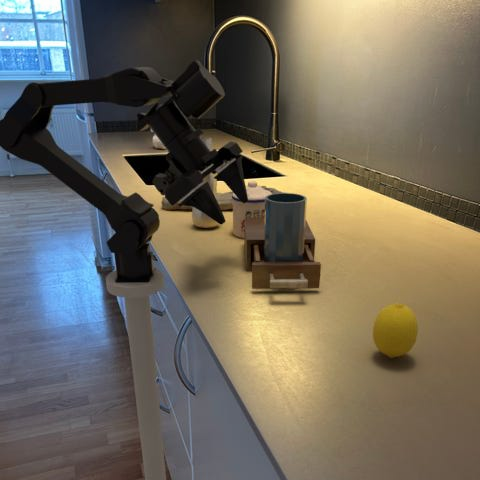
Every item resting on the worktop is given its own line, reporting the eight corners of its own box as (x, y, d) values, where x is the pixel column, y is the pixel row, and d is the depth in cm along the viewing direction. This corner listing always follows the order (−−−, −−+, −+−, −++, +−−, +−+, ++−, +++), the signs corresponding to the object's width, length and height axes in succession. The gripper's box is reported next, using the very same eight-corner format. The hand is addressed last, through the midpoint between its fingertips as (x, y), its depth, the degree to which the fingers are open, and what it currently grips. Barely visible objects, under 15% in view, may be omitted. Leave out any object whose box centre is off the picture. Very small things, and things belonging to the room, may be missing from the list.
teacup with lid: (240, 241, 111) (239, 187, 106) (226, 230, 119) (225, 179, 113) (290, 235, 115) (292, 183, 109) (274, 224, 122) (275, 175, 117)
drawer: (323, 298, 83) (325, 274, 81) (253, 299, 82) (253, 274, 80) (308, 260, 98) (309, 238, 96) (249, 260, 98) (249, 239, 96)
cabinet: (313, 270, 96) (315, 239, 93) (246, 270, 96) (246, 239, 93) (303, 245, 109) (304, 217, 106) (244, 245, 109) (244, 217, 106)
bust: (160, 151, 233) (143, 131, 228) (173, 140, 231) (156, 119, 226) (160, 155, 222) (142, 134, 217) (173, 144, 221) (156, 122, 216)
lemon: (361, 357, 68) (368, 303, 64) (383, 343, 72) (391, 290, 68) (398, 373, 65) (408, 317, 61) (420, 357, 68) (430, 303, 64)
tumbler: (276, 281, 86) (278, 204, 80) (256, 268, 92) (257, 195, 86) (309, 274, 89) (314, 199, 83) (288, 261, 95) (292, 191, 89)
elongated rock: (164, 207, 141) (161, 219, 133) (161, 188, 139) (158, 199, 130) (289, 198, 142) (295, 210, 134) (289, 179, 140) (295, 190, 131)
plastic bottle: (208, 221, 125) (206, 135, 116) (225, 227, 121) (224, 138, 111) (186, 226, 122) (182, 137, 112) (203, 232, 117) (200, 141, 108)
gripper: (178, 146, 98) (228, 212, 101) (120, 181, 84) (180, 256, 88) (216, 111, 90) (268, 183, 94) (159, 143, 77) (222, 226, 80)
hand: (235, 212), depth 89 cm, fingers open, 9 cm apart
